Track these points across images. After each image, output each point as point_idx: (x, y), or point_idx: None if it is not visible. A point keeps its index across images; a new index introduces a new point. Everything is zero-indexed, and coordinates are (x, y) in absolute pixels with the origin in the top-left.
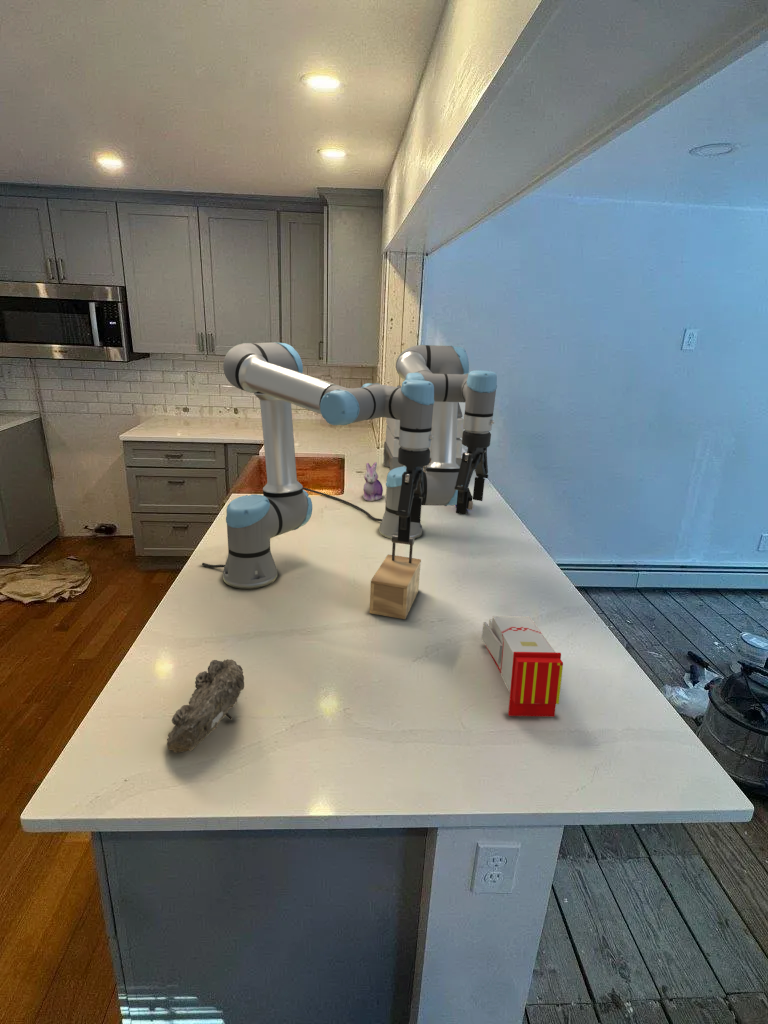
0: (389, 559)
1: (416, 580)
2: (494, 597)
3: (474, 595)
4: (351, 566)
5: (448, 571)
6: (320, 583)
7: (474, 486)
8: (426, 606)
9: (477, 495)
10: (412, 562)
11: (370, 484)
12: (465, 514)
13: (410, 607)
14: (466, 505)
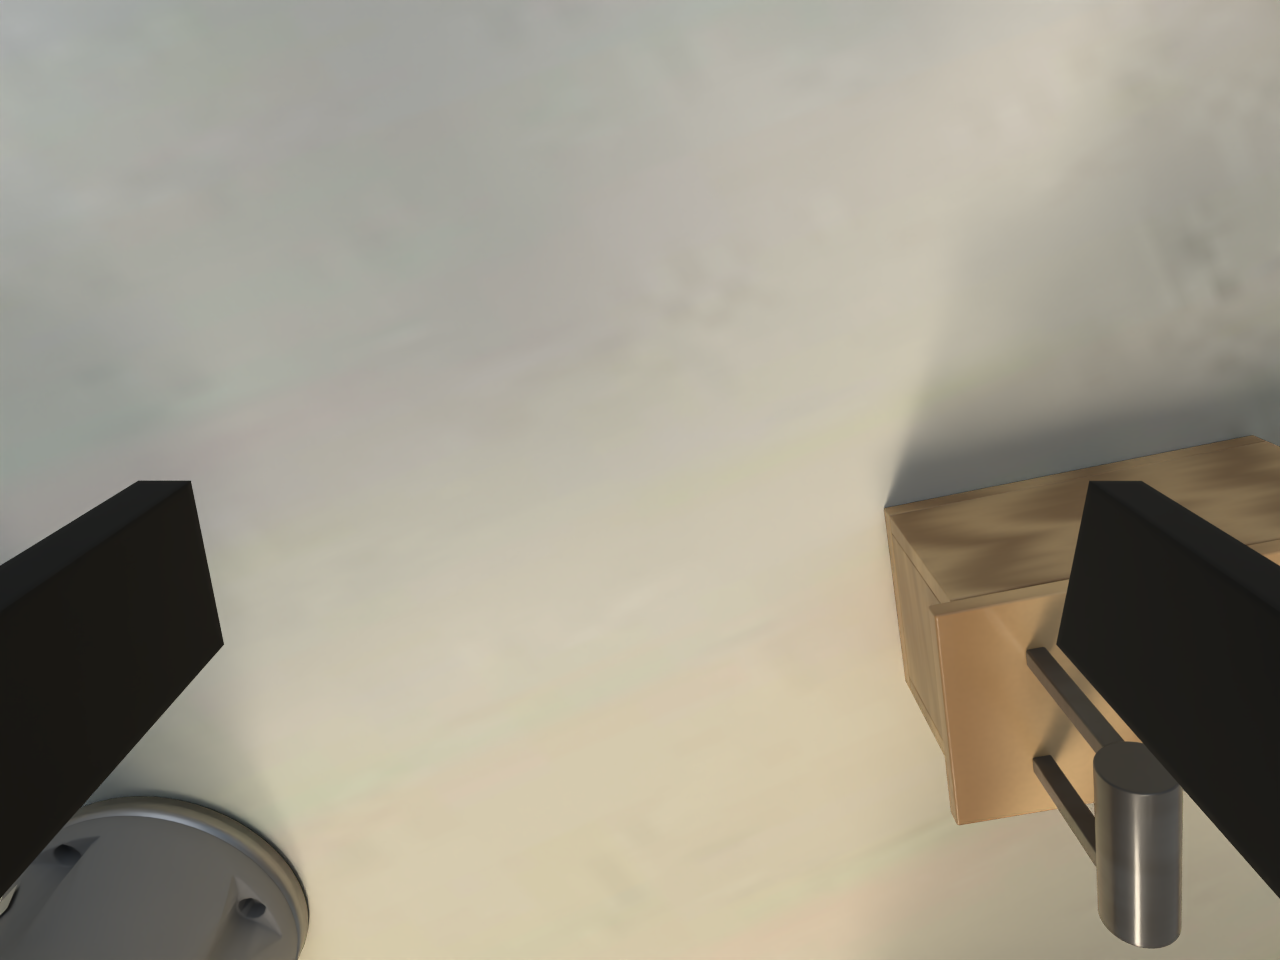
0: (1039, 786)
1: (1029, 538)
2: (721, 20)
3: (764, 169)
4: (771, 906)
5: (515, 455)
6: (1025, 929)
7: (47, 824)
8: (1051, 391)
9: (155, 616)
10: (1021, 644)
11: None
12: (1140, 481)
13: (1116, 464)
14: (1249, 559)
